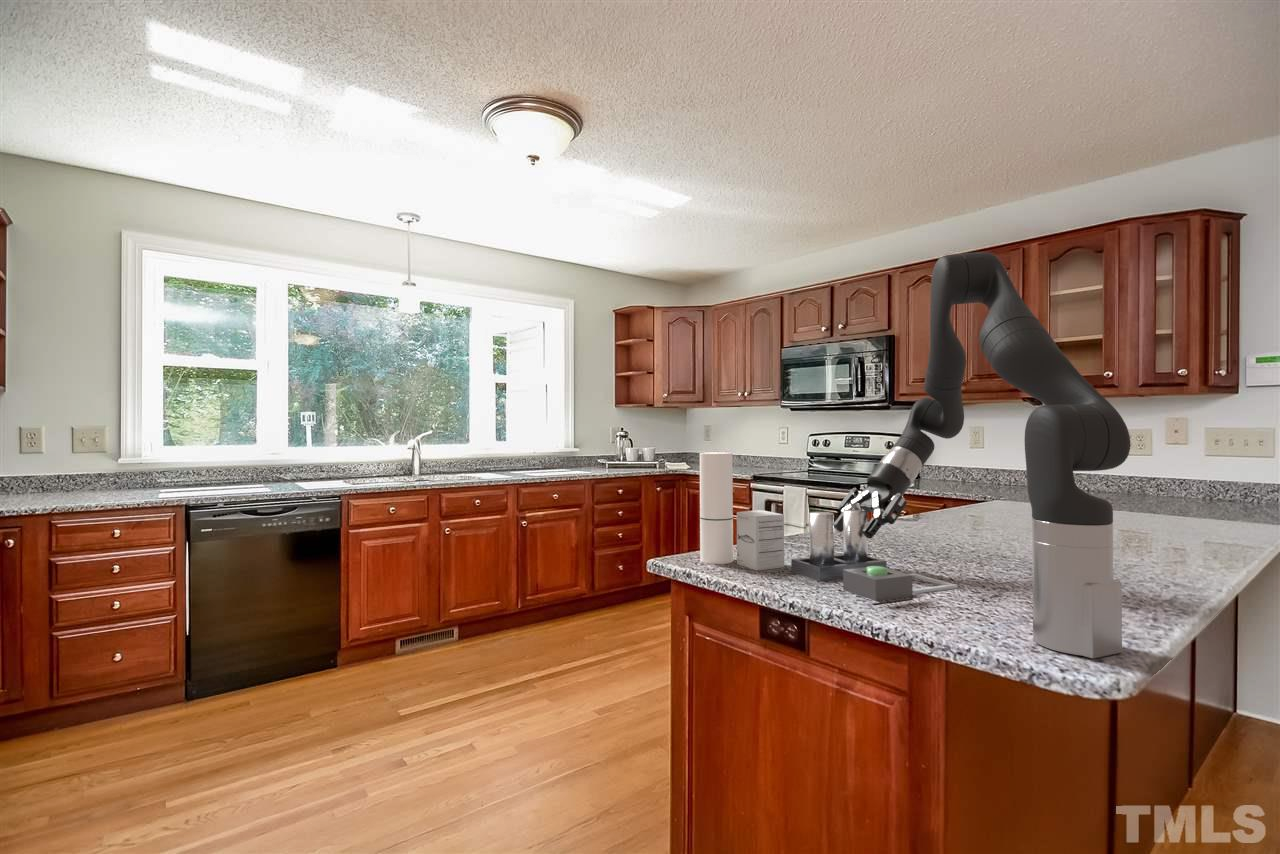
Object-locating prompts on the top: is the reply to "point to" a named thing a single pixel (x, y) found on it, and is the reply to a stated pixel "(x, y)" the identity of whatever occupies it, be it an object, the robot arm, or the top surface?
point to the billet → (855, 536)
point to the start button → (877, 570)
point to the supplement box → (760, 539)
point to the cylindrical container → (716, 508)
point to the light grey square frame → (936, 588)
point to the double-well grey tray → (830, 567)
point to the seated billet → (821, 538)
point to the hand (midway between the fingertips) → (851, 532)
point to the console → (878, 585)
